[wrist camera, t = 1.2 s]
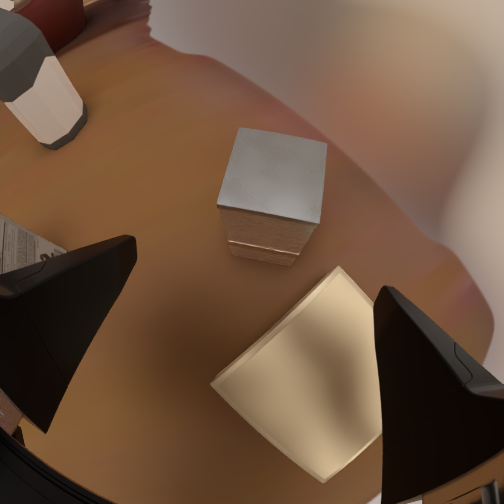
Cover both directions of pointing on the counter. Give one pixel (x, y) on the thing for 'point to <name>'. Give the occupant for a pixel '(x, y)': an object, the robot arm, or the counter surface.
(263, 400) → the maple block
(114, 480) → the counter surface
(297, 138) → the tea tin
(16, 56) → the wine bottle
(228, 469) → the counter surface
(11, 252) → the coffee box
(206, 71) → the counter surface
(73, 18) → the bucket
